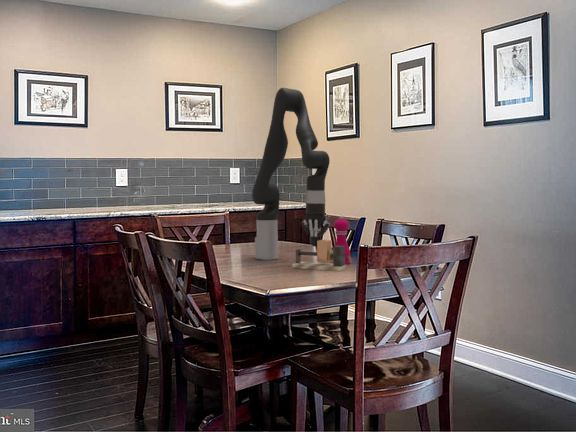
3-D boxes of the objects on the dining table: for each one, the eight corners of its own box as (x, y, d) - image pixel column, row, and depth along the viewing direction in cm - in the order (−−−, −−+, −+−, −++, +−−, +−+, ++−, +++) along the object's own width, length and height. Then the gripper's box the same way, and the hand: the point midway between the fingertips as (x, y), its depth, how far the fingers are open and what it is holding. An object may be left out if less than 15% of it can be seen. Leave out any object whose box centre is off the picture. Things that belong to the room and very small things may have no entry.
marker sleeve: (317, 260, 220) (317, 240, 219) (322, 259, 224) (322, 239, 224) (326, 261, 218) (326, 241, 218) (331, 259, 222) (331, 240, 222)
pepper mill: (349, 264, 230) (349, 215, 229) (331, 264, 232) (331, 215, 230) (351, 262, 237) (350, 214, 236) (333, 261, 239) (333, 214, 237)
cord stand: (292, 267, 224) (292, 245, 223) (300, 265, 230) (300, 243, 230) (339, 271, 215) (339, 247, 214) (346, 268, 221) (346, 245, 220)
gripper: (296, 202, 221) (295, 246, 222) (327, 203, 215) (326, 248, 216) (304, 201, 228) (304, 244, 229) (334, 202, 221) (334, 246, 223)
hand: (315, 246), depth 223 cm, fingers closed
